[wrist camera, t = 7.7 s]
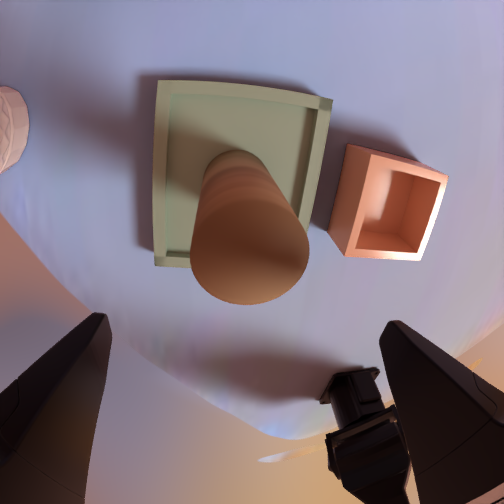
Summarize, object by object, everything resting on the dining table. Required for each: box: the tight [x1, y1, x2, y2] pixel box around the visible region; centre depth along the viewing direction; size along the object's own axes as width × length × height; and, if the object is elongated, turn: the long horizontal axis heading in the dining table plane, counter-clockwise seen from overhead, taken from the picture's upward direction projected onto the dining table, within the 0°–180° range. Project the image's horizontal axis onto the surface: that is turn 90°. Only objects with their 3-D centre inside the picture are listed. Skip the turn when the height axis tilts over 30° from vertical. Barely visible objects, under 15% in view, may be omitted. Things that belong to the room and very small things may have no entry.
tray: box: [152, 80, 333, 268], centre depth 18 cm, size 12×10×2 cm
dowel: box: [190, 150, 309, 305], centre depth 13 cm, size 4×4×9 cm
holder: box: [327, 143, 449, 261], centre depth 18 cm, size 7×7×4 cm
